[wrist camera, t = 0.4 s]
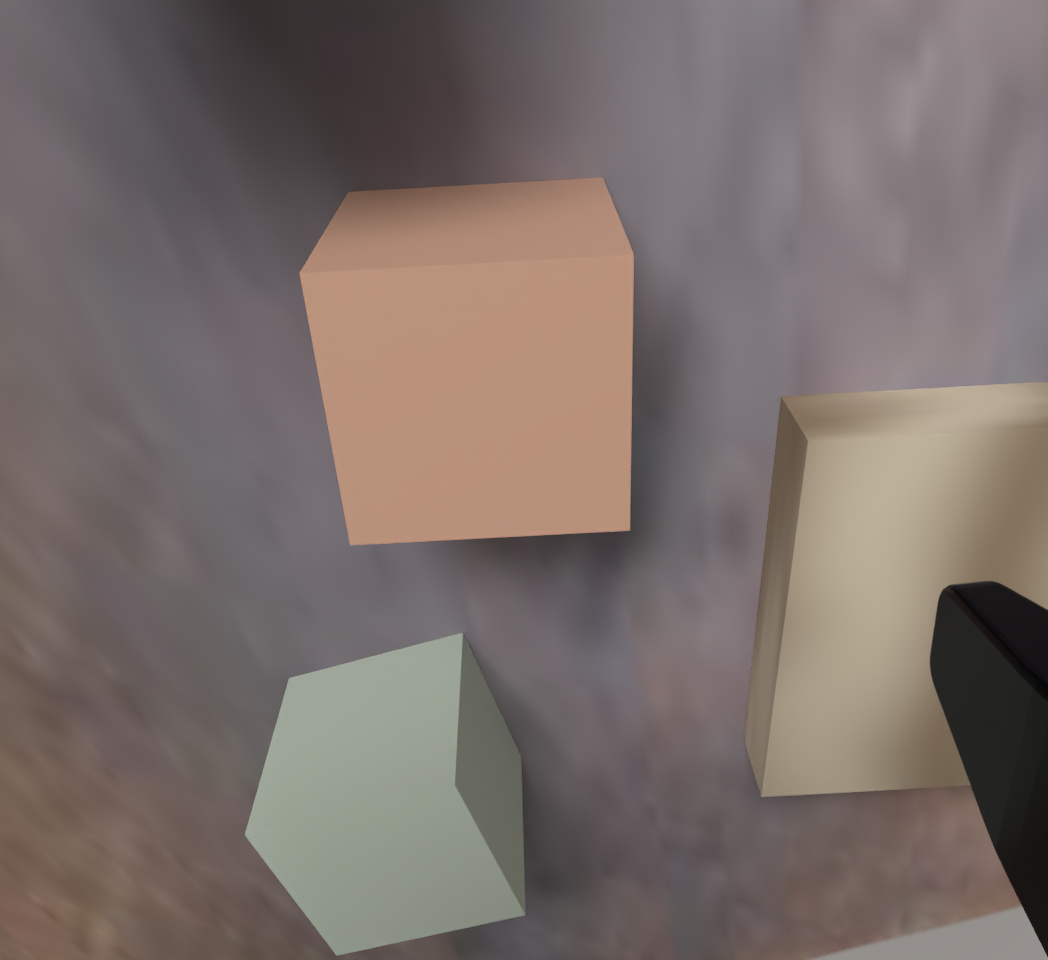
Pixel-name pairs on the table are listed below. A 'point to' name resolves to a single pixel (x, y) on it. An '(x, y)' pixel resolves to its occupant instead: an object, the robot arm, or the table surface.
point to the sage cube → (394, 798)
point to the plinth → (884, 574)
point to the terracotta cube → (476, 360)
